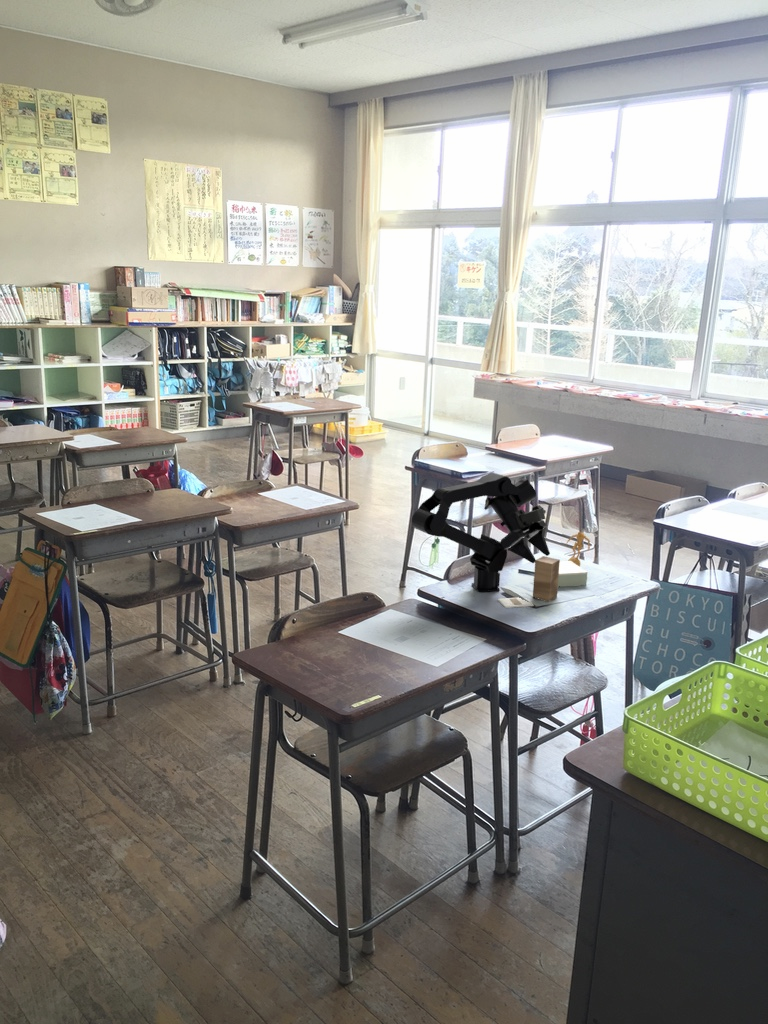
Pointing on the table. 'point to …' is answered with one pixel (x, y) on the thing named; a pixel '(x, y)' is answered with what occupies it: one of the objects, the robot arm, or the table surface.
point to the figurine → (580, 538)
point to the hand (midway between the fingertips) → (541, 558)
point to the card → (514, 602)
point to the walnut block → (546, 578)
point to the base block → (571, 574)
